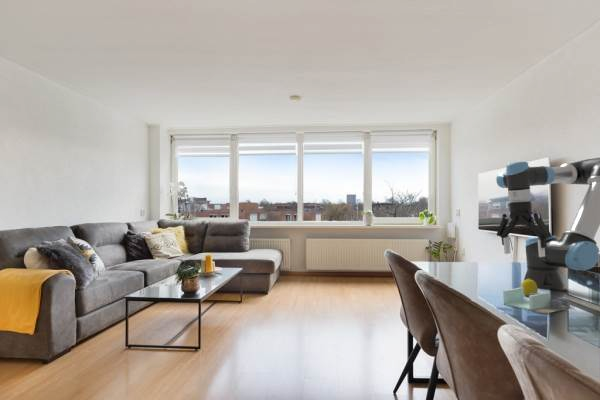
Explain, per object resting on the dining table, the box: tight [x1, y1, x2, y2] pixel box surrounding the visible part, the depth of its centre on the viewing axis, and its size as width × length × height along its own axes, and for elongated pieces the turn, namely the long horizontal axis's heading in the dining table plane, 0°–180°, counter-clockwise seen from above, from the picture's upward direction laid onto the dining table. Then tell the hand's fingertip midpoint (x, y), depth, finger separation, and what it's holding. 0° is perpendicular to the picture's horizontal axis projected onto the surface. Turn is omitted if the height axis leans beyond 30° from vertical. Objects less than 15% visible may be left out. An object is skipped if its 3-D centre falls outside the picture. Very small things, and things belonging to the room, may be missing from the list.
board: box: [516, 305, 575, 315], centre depth 127 cm, size 17×14×1 cm
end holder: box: [502, 286, 551, 312], centre depth 128 cm, size 10×10×5 cm
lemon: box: [520, 278, 539, 297], centre depth 142 cm, size 6×6×8 cm
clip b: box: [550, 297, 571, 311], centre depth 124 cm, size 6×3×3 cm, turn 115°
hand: (524, 255), depth 140 cm, fingers open, 13 cm apart
